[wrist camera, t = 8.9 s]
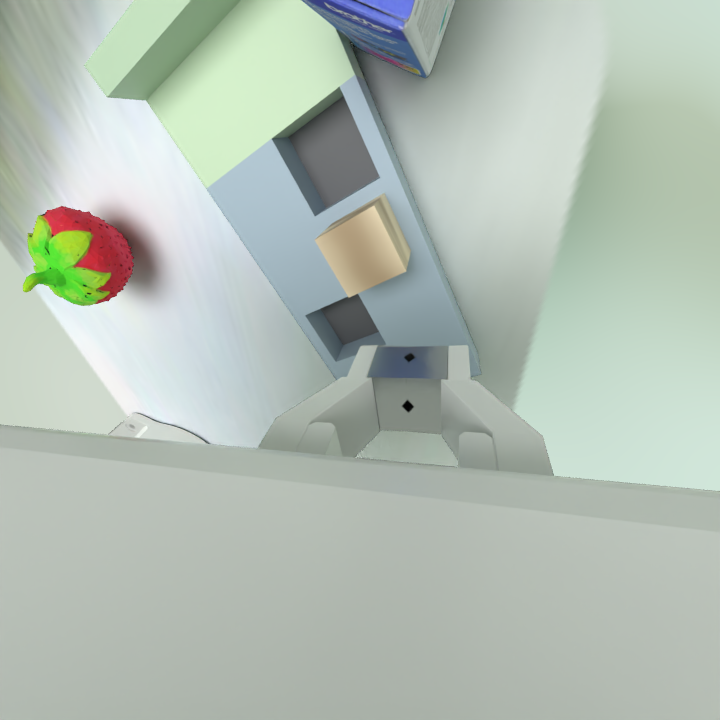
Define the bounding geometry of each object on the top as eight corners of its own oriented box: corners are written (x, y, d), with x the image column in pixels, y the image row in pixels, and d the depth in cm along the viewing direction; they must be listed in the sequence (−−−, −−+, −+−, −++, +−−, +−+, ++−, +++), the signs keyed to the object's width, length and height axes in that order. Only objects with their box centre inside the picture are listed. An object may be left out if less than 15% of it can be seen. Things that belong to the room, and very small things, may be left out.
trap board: (361, 388, 35) (349, 431, 30) (160, 77, 22) (83, 65, 17) (478, 353, 30) (485, 398, 25) (302, -73, 17) (248, -149, 12)
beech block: (360, 274, 24) (348, 297, 21) (332, 223, 23) (314, 239, 19) (411, 250, 23) (406, 271, 19) (384, 192, 21) (374, 205, 18)
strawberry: (156, 210, 28) (41, 246, 20) (161, 288, 32) (69, 342, 24) (90, 184, 28) (-54, 210, 20) (104, 266, 32) (-8, 314, 24)
